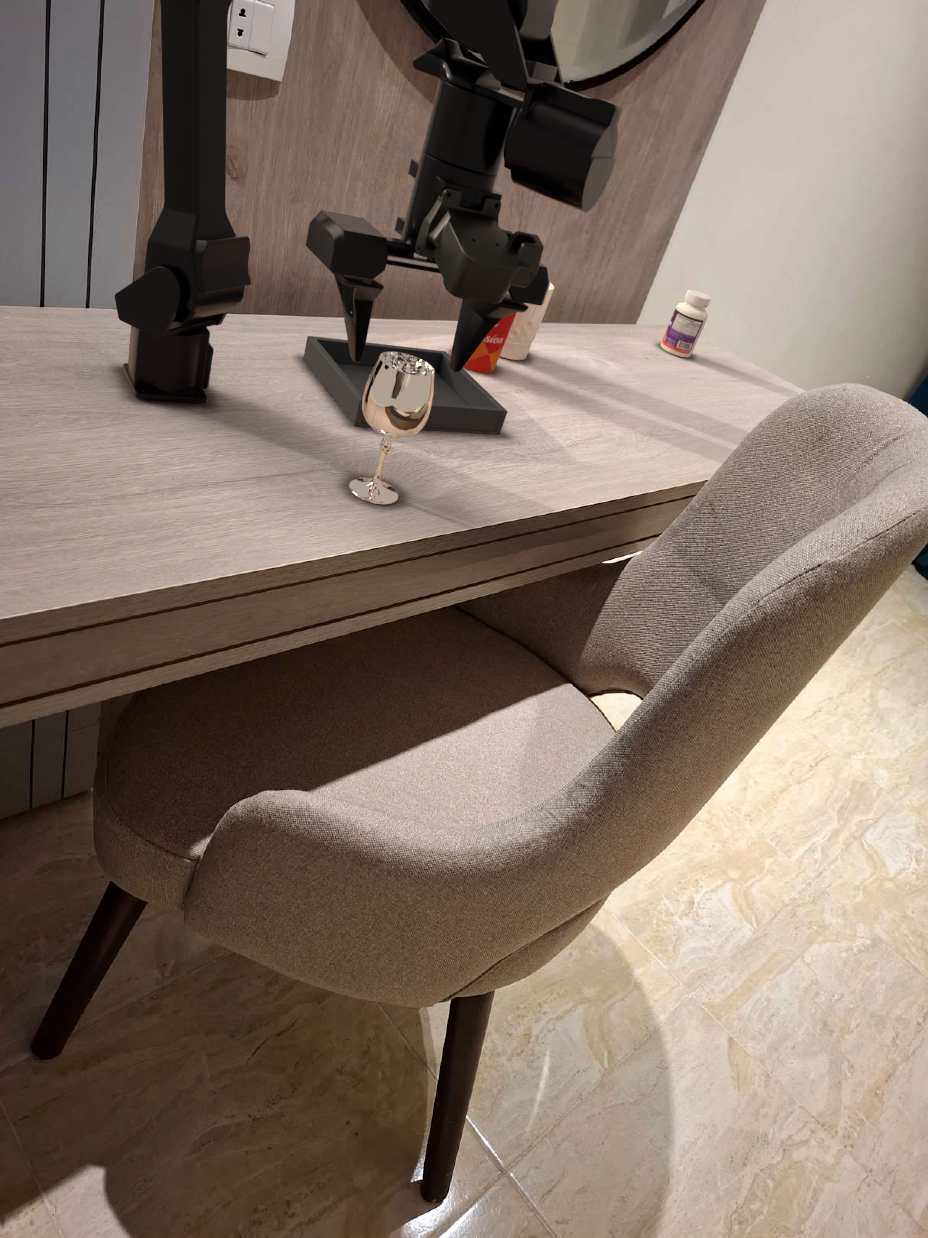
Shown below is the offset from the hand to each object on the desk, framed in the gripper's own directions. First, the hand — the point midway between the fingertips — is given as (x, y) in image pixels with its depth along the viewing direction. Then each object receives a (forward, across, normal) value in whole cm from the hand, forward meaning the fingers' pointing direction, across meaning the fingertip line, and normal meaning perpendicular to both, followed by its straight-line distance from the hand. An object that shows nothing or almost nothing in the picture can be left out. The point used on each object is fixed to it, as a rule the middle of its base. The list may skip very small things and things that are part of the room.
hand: (406, 365), depth 74 cm
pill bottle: (+12, +76, +47) cm, 90 cm away
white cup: (+12, +36, +38) cm, 54 cm away
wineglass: (+12, 0, 0) cm, 12 cm away
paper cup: (+12, +28, +32) cm, 45 cm away
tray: (+12, +12, +20) cm, 26 cm away
